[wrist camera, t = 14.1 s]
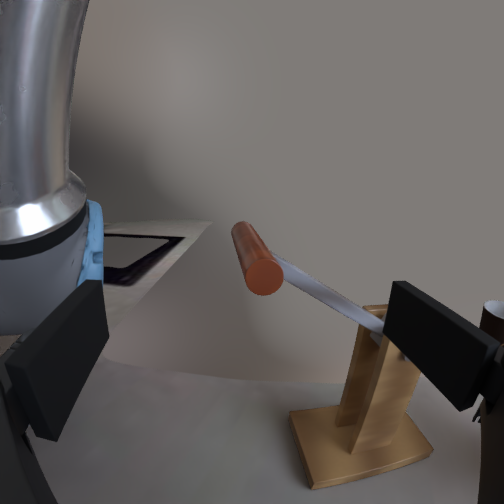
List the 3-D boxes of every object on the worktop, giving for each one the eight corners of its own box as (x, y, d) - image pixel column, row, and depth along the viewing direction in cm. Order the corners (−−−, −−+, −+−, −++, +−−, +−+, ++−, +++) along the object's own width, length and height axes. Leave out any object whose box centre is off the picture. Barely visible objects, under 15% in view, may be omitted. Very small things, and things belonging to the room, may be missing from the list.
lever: (234, 289, 14) (263, 245, 14) (224, 239, 25) (241, 213, 24) (428, 389, 18) (449, 363, 18) (367, 324, 29) (381, 305, 28)
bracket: (311, 490, 20) (351, 358, 17) (287, 419, 30) (305, 295, 26) (429, 456, 22) (488, 333, 18) (390, 402, 32) (423, 290, 28)
